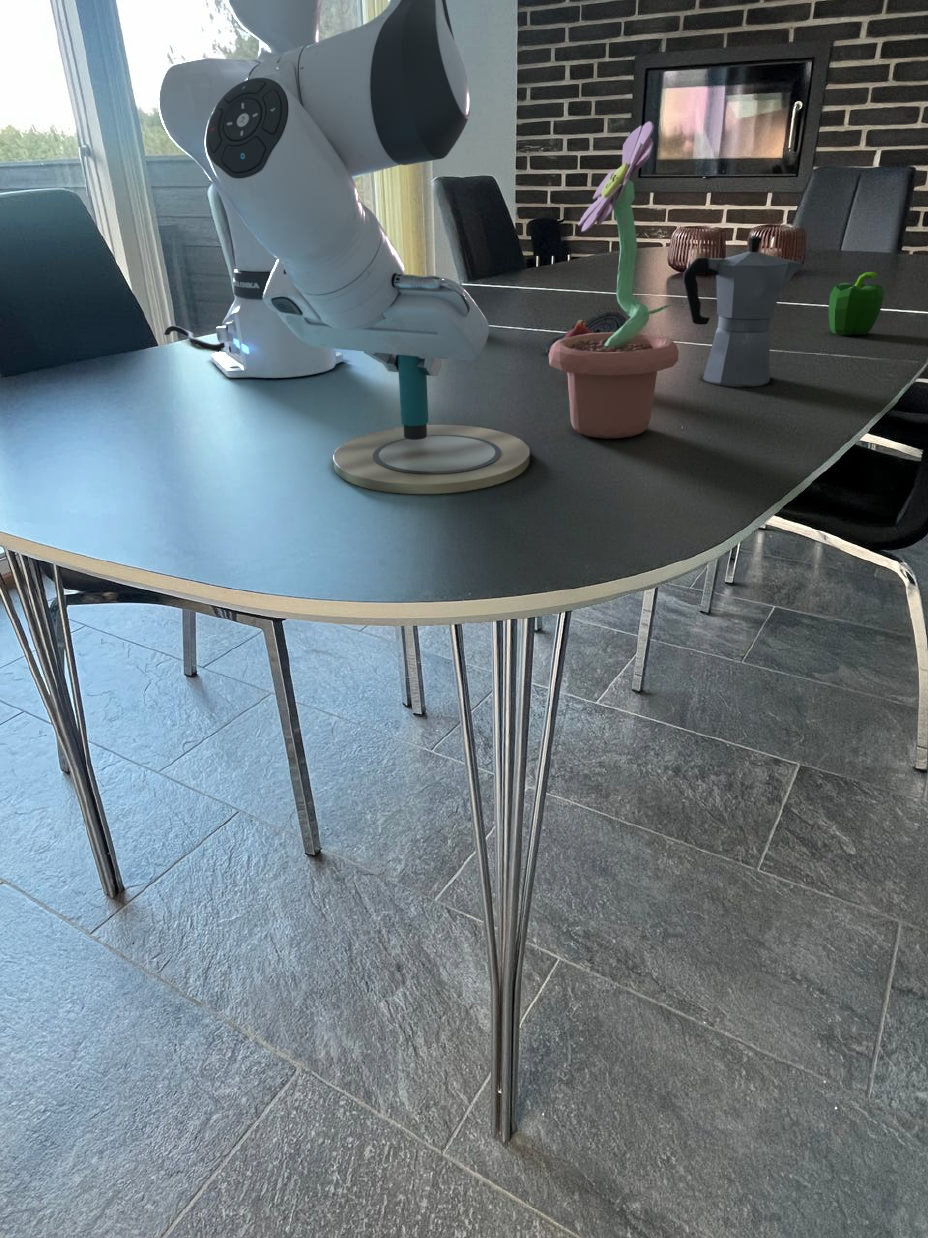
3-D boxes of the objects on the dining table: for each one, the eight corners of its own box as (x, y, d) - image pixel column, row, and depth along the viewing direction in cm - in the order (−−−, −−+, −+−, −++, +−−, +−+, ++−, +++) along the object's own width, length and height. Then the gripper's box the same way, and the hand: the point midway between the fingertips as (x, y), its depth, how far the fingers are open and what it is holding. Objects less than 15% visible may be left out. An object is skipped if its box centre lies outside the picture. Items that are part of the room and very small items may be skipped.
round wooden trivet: (300, 456, 88) (298, 446, 87) (454, 423, 98) (454, 414, 97) (401, 510, 74) (400, 498, 73) (570, 465, 84) (570, 454, 83)
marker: (397, 436, 87) (389, 309, 81) (419, 431, 89) (413, 307, 83) (411, 442, 85) (405, 313, 79) (434, 437, 87) (429, 310, 81)
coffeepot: (771, 370, 119) (792, 232, 111) (796, 386, 111) (821, 237, 102) (664, 373, 119) (677, 235, 110) (681, 389, 111) (697, 240, 102)
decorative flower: (542, 412, 102) (550, 126, 87) (657, 411, 101) (683, 123, 87) (550, 449, 88) (560, 119, 74) (681, 447, 88) (717, 116, 74)
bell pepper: (811, 332, 145) (822, 270, 140) (846, 328, 148) (858, 267, 143) (849, 340, 139) (862, 275, 134) (885, 335, 142) (899, 272, 137)
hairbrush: (527, 335, 132) (593, 305, 150) (527, 358, 134) (592, 326, 152) (574, 339, 128) (636, 308, 146) (574, 363, 130) (635, 330, 148)
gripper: (467, 247, 68) (518, 349, 80) (273, 241, 77) (345, 334, 89) (441, 312, 67) (497, 406, 79) (247, 299, 76) (324, 385, 88)
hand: (415, 368), depth 84 cm, fingers closed on marker, 3 cm apart
